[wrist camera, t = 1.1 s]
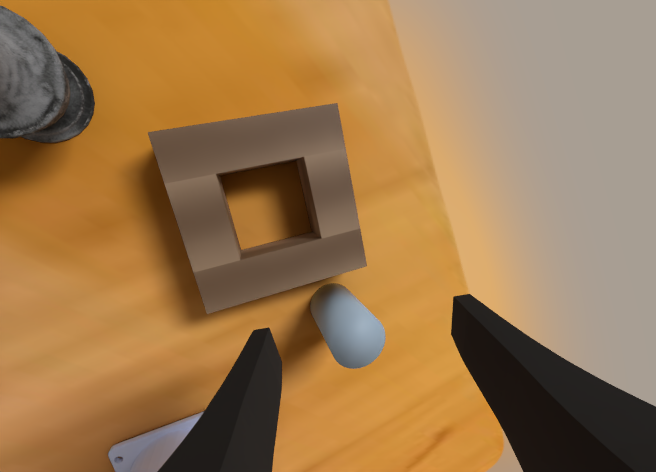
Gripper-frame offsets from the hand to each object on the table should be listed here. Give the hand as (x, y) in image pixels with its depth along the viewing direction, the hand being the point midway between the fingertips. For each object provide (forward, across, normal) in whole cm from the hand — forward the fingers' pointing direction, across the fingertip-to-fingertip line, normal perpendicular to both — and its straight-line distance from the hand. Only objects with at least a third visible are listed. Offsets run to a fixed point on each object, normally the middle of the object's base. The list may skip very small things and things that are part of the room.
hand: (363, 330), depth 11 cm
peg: (+10, +2, +7) cm, 12 cm away
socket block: (+12, +5, -1) cm, 13 cm away
